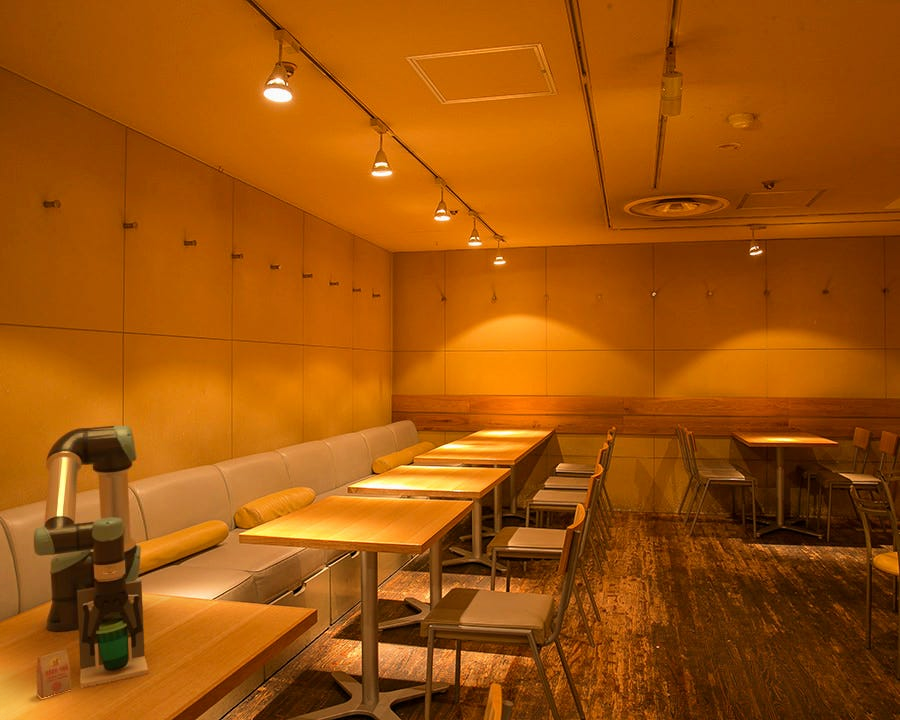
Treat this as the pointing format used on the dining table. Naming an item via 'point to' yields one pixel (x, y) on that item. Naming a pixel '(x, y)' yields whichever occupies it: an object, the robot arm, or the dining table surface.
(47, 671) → the tea bag
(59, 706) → the dining table surface
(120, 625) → the cup
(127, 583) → the stand
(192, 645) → the dining table surface
